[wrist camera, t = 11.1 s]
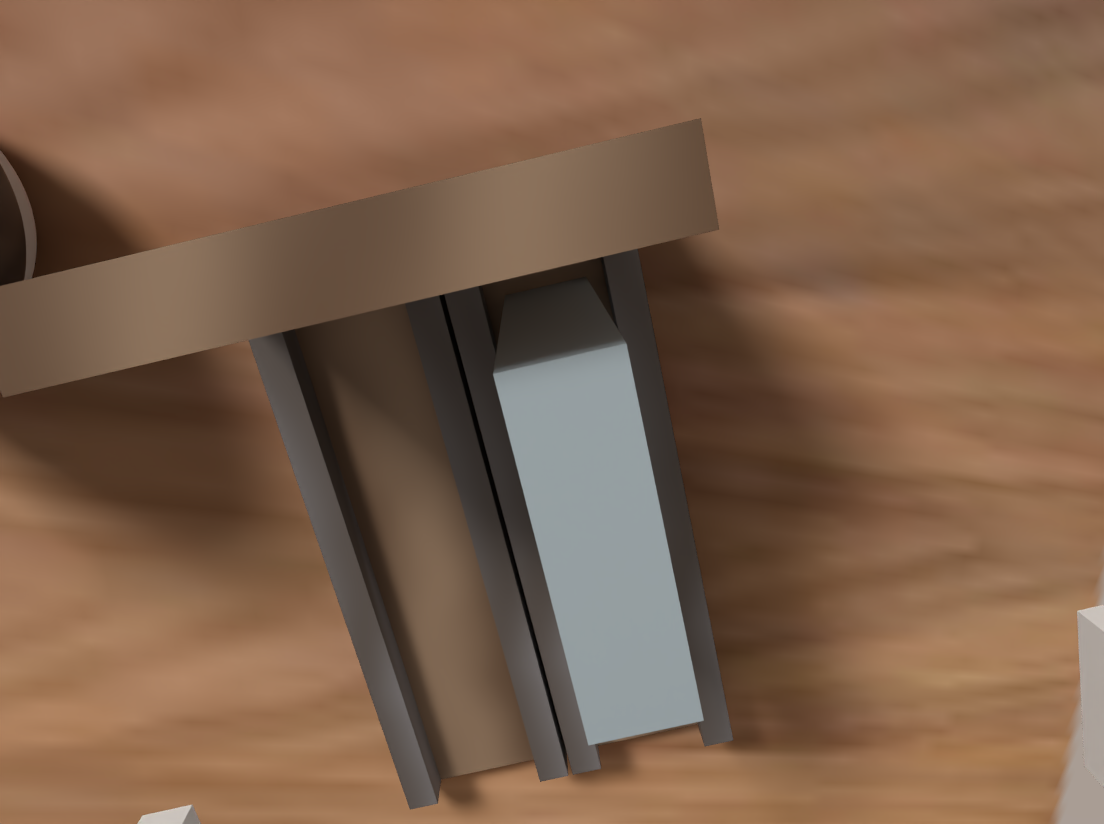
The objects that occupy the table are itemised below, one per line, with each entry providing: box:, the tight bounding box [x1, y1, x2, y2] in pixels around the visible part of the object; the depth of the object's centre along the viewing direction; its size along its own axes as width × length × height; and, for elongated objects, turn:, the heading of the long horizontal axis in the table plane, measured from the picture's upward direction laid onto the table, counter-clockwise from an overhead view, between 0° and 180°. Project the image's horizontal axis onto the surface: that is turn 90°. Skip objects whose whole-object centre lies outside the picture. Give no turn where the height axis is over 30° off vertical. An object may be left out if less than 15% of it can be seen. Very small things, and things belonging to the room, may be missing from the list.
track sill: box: [0, 118, 733, 809], centre depth 25 cm, size 14×24×15 cm, turn 13°
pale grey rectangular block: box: [493, 277, 704, 745], centre depth 25 cm, size 3×10×12 cm, turn 13°
